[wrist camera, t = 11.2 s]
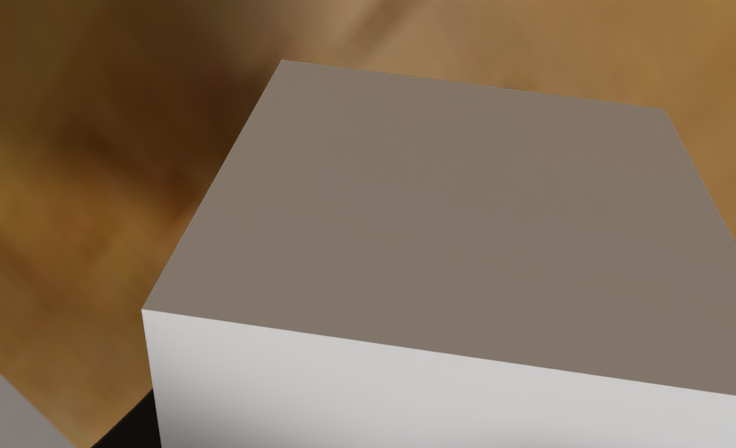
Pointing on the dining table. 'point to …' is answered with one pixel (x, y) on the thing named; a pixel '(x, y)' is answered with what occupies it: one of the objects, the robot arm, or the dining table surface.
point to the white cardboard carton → (447, 276)
